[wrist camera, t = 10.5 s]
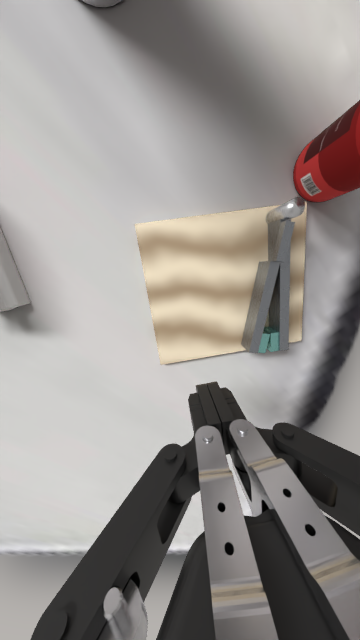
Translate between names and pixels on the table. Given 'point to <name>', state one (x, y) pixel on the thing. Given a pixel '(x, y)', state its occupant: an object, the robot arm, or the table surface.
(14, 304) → the grey curved block
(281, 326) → the tongs fixed
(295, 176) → the canned food
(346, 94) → the table surface
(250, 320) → the tong arm
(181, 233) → the board
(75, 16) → the table surface
